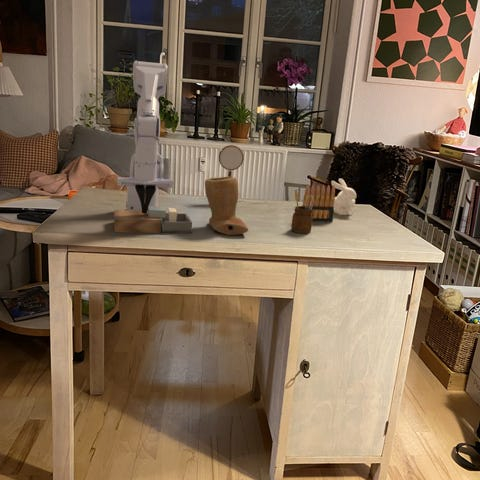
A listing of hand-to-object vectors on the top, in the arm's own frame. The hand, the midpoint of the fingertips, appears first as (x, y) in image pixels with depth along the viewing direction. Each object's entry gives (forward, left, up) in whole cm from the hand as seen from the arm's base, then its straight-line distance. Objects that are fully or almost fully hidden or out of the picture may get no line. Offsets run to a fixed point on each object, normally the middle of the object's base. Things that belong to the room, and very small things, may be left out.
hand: (144, 212), depth 137 cm
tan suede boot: (+22, 0, -4) cm, 23 cm away
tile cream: (+7, 0, -1) cm, 7 cm away
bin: (+8, 0, -4) cm, 9 cm away
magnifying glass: (+32, +35, -4) cm, 47 cm away
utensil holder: (+46, -1, -4) cm, 46 cm away
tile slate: (+3, 0, -1) cm, 3 cm away
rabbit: (+71, +23, -4) cm, 74 cm away
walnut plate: (-2, 0, -4) cm, 5 cm away
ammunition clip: (+56, +11, -4) cm, 57 cm away
